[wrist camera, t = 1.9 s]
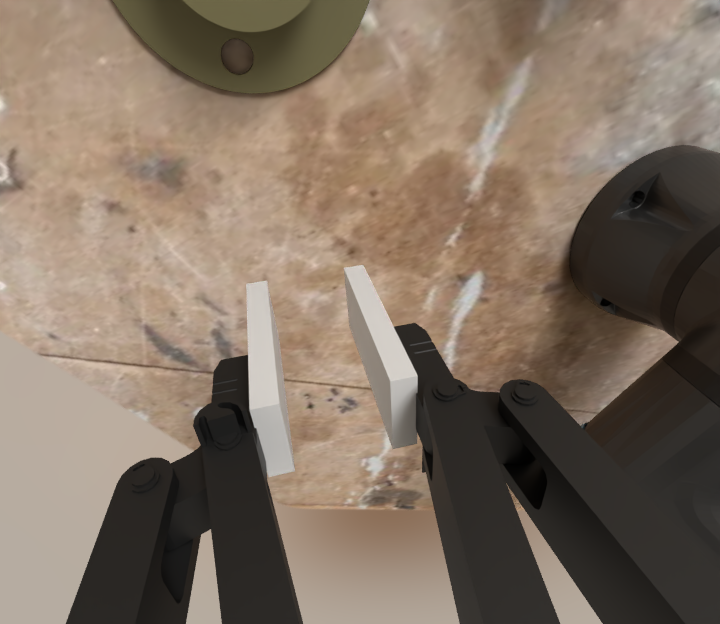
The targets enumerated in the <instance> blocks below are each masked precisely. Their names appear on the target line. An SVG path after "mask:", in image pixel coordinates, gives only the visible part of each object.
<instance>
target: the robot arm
mask: <svg viewBox="0 0 720 624" xmlns="http://www.w3.org/2000/svg"><path fill="white" fill-rule="evenodd" d="M570 269H571V274H572V278H573V281H574V283H575V285H576V287H577V288H578V290H579V291H580V292H581V293H582V294H583V295H584V296H585V297H587V298H588V299H589V300H590V301H591V302H593V303H594V304H595V305H596V306H598V307H599V308H601V309H602V310H604V311H606V312H608V313H611V314H614V315H617V316H620V317H623V318H626V319H629V320H632V321H635V322H638V323H641V324H644V325H647V326H650V327H654V328H657V329H660V330H663V331H665V332H666V333H668V334H669V335H670V336H672V337H673V338H674V339H676V340H677V341H679V343H677V345H676V346H674V347H673V348H672V349H671V350H670V351H669V352H668V353H667V354H666V355H664V356H663V357H662V358H661V359H660V360H658V361H657V362H656V363H655V364H654V365H653V366H652V367H651V368H649V369H648V370H647V371H646V372H645V373H644V374H643V375H641V376H640V377H639V378H638V379H637V380H636V381H635V382H634V383H632V384H631V385H630V386H629V387H628V388H627V389H626V390H625V391H623V392H622V393H621V394H620V395H619V396H618V397H617V398H615V399H614V400H613V401H612V402H611V403H610V404H609V405H608V406H606V407H605V408H604V409H603V410H602V411H601V412H600V413H599V414H597V415H596V416H595V417H594V418H593V419H592V420H591V421H589V422H588V423H585V424H582V425H581V426H580V425H579V424H578V423H577V422H576V421H575V420H574V419H573V418H572V417H571V416H570V415H569V414H568V413H567V412H566V411H565V410H564V409H563V407H562V406H561V405H560V404H559V403H558V402H557V401H556V400H555V399H554V398H553V397H552V396H551V395H550V394H549V393H548V392H547V391H546V390H545V389H544V388H542V387H541V386H540V385H538V384H536V383H534V382H531V381H528V380H520V379H519V380H511V381H509V382H507V383H505V384H504V385H503V386H502V387H501V389H500V393H498V392H480V391H474V390H470V389H469V388H468V387H467V385H466V384H464V383H463V382H461V381H460V380H458V379H454V378H453V376H452V374H451V373H450V371H449V369H448V367H447V366H446V364H445V362H444V361H443V359H442V357H441V355H440V354H439V352H438V350H436V347H435V345H434V344H433V342H432V341H431V338H430V337H429V335H428V333H427V332H426V330H424V329H423V328H422V327H420V326H419V325H417V324H416V323H412V324H407V325H401V326H396V327H393V325H392V323H391V321H390V318H389V316H388V314H387V312H386V310H385V308H384V306H383V304H382V302H381V300H380V298H379V296H378V294H377V292H376V290H375V288H374V286H373V284H372V282H371V280H370V278H369V276H368V274H367V272H366V270H365V268H364V266H363V265H359V266H353V267H347V268H344V275H345V285H346V296H347V306H348V316H349V326H350V329H351V332H352V334H353V337H354V340H355V343H356V346H357V349H358V351H359V354H360V357H361V360H362V363H363V366H364V369H365V371H366V374H367V377H368V380H369V383H370V386H371V388H372V391H373V394H374V397H375V400H376V403H377V406H378V408H379V411H380V414H381V417H382V420H383V423H384V425H385V428H386V431H387V434H388V437H389V440H390V442H391V445H392V448H393V449H395V448H400V447H404V446H409V445H413V444H417V432H418V435H419V437H420V440H421V442H422V444H423V455H422V473H423V472H426V474H427V479H428V483H429V488H430V492H431V496H432V501H433V505H434V510H435V514H436V518H437V523H438V528H439V532H440V537H441V541H442V546H443V550H444V554H445V559H446V564H447V568H448V573H449V577H450V581H451V586H452V591H453V595H454V599H455V604H456V608H457V613H458V617H459V622H460V624H560V622H559V619H558V617H557V614H556V612H555V609H554V606H553V604H552V602H551V599H550V596H549V594H548V591H547V588H546V586H545V583H544V581H543V578H542V575H541V573H540V570H539V568H538V565H537V562H536V560H535V557H534V555H533V552H532V550H531V547H530V545H529V542H528V539H527V537H526V534H525V531H524V529H523V526H522V524H521V521H520V518H519V516H518V513H517V511H516V508H515V505H514V503H513V500H512V498H511V495H510V493H509V490H508V487H507V485H508V486H509V488H510V489H511V490H512V492H513V493H514V495H515V496H516V498H517V499H518V501H519V502H520V504H521V505H522V506H523V508H524V509H525V511H526V512H527V514H528V515H529V517H530V518H531V520H532V521H533V522H534V524H535V525H536V527H537V528H538V530H539V531H540V533H541V534H542V536H543V537H544V539H545V540H546V541H547V543H548V544H549V546H550V547H551V549H552V550H553V552H554V553H555V555H556V556H557V557H558V559H559V560H560V562H561V563H562V565H563V566H564V568H565V569H566V571H567V572H568V573H569V575H570V577H571V578H572V579H573V581H574V582H575V584H576V585H577V587H578V588H579V590H580V591H581V592H582V594H583V595H584V597H585V598H586V600H587V601H588V603H589V604H590V606H591V607H592V609H593V610H594V612H595V613H596V614H597V616H598V617H599V619H600V620H601V622H602V623H603V624H720V153H717V152H714V151H710V150H707V149H704V148H700V147H696V146H689V145H681V146H673V147H668V148H664V149H661V150H658V151H655V152H653V153H651V154H648V155H646V156H644V157H642V158H641V159H639V160H637V161H636V162H634V163H632V164H631V165H629V166H628V167H627V168H625V169H624V170H623V171H621V172H620V173H619V174H618V175H617V176H615V177H614V178H613V179H612V180H611V181H610V182H609V183H608V184H607V185H606V186H605V187H604V188H603V189H602V190H601V192H600V193H599V194H598V195H597V196H596V198H595V199H594V200H593V202H592V203H591V205H590V206H589V208H588V209H587V211H586V212H585V214H584V216H583V218H582V220H581V222H580V224H579V226H578V228H577V231H576V233H575V236H574V239H573V243H572V248H571V254H570ZM246 287H247V328H248V355H245V356H240V357H234V358H229V359H224V360H221V361H220V363H219V364H218V366H217V367H216V369H215V370H214V376H213V389H212V394H213V395H212V403H210V404H208V405H206V406H205V407H204V408H203V409H201V410H200V411H199V413H198V414H197V415H196V417H195V419H194V424H193V427H194V429H195V432H196V434H197V437H198V439H199V442H200V444H201V446H200V447H199V448H198V449H196V450H195V451H194V452H192V453H191V454H189V455H187V456H186V457H183V458H181V459H179V460H177V461H175V462H173V463H171V464H170V463H169V461H167V460H165V459H163V458H149V459H146V460H142V461H140V462H138V463H136V464H135V465H133V466H132V467H130V468H129V469H128V470H127V471H126V472H125V473H124V474H123V475H122V476H121V478H120V480H119V481H118V483H117V485H116V488H115V491H114V493H113V496H112V499H111V502H110V505H109V507H108V510H107V513H106V515H105V518H104V521H103V524H102V526H101V529H100V532H99V534H98V537H97V540H96V543H95V545H94V548H93V551H92V554H91V556H90V559H89V562H88V564H87V567H86V570H85V573H84V575H83V578H82V581H81V584H80V587H79V589H78V592H77V595H76V597H75V600H74V603H73V606H72V608H71V611H70V614H69V616H68V619H67V622H66V624H186V619H187V613H188V607H189V601H190V596H191V590H192V584H193V578H194V571H195V566H196V561H197V555H198V549H199V543H200V537H201V534H202V533H204V532H206V531H208V530H209V529H211V532H212V540H213V549H214V558H215V566H216V575H217V584H218V593H219V601H220V609H221V619H222V624H303V621H302V617H301V613H300V609H299V605H298V601H297V597H296V593H295V589H294V585H293V581H292V577H291V573H290V569H289V565H288V561H287V557H286V553H285V549H284V545H283V541H282V538H281V533H280V529H279V525H278V521H277V517H276V513H275V509H274V506H273V501H272V497H271V493H270V489H269V486H268V482H267V473H268V477H271V476H276V475H280V474H285V473H289V472H293V471H295V467H294V459H293V451H292V442H291V434H290V426H289V417H288V409H287V401H286V393H285V384H284V376H283V368H282V359H281V351H280V343H279V336H278V331H277V327H276V322H275V317H274V312H273V307H272V303H271V298H270V293H269V288H268V283H267V281H261V282H255V283H249V284H246ZM506 483H507V485H506Z"/></svg>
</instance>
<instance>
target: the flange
mask: <svg viewBox="0 0 720 624" xmlns="http://www.w3.org/2000/svg"><path fill="white" fill-rule="evenodd" d="M113 2H114V3H115V5H116V7H117V8H118V10H119V11H120V12H121V14H122V15H123V17H124V18H125V19H126V21H127V22H128V23H129V25H130V26H131V27H132V28H133V29H134V31H135V32H136V33H137V34H138V35H139V36H140V37H141V39H142V40H143V41H144V42H145V43H146V44H147V45H148V46H149V47H150V48H151V49H153V50H154V51H155V52H156V53H157V54H158V55H159V56H161V57H162V58H163V59H164V60H166V61H167V62H168V63H170V64H171V65H172V66H174V67H175V68H177V69H178V70H180V71H181V72H183V73H185V74H187V75H188V76H190V77H192V78H194V79H196V80H198V81H200V82H203V83H205V84H208V85H210V86H213V87H216V88H220V89H223V90H227V91H233V92H239V93H269V92H275V91H280V90H284V89H287V88H290V87H293V86H296V85H298V84H300V83H302V82H304V81H306V80H308V79H310V78H311V77H313V76H315V75H316V74H318V73H319V72H320V71H322V70H323V69H324V68H325V67H327V66H328V65H329V64H330V63H331V62H332V61H333V60H334V59H335V58H336V57H337V56H338V55H339V54H340V53H341V52H342V50H343V49H344V48H345V46H346V45H347V44H348V42H349V41H350V39H351V38H352V36H353V35H354V33H355V31H356V30H357V28H358V26H359V24H360V22H361V20H362V18H363V16H364V13H365V11H366V8H367V6H368V3H369V0H113ZM233 38H237V39H241V40H243V41H245V42H246V43H247V44H248V45H249V46H250V48H251V50H252V52H253V57H254V61H253V65H252V67H251V69H250V70H249V71H248V72H246V73H244V74H235V73H232V72H230V71H229V70H228V69H227V68H226V67H225V66H224V64H223V62H222V59H221V49H222V46H223V44H224V43H225V42H226V41H228V40H230V39H233Z"/></svg>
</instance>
